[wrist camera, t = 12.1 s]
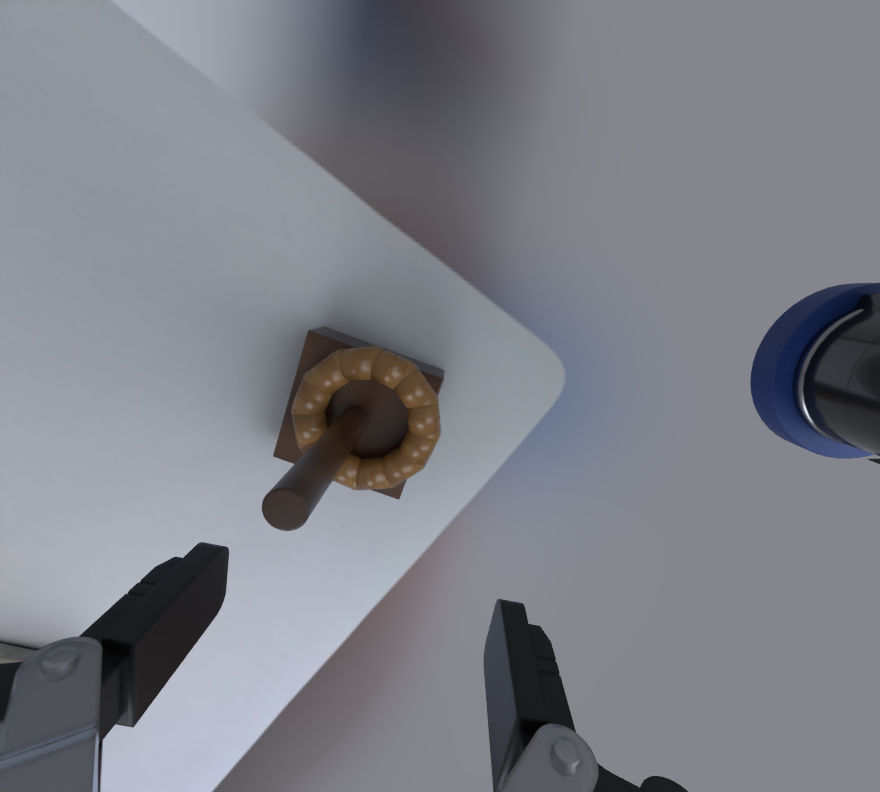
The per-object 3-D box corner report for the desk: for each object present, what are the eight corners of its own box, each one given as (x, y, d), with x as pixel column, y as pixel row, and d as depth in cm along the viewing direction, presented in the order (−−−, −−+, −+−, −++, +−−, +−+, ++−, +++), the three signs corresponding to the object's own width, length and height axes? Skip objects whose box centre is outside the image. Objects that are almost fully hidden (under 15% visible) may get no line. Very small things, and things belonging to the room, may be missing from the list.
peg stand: (322, 326, 29) (193, 358, 15) (444, 370, 30) (436, 444, 15) (289, 441, 31) (147, 570, 17) (404, 481, 32) (362, 639, 17)
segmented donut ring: (330, 320, 26) (320, 322, 24) (464, 383, 27) (464, 390, 25) (280, 447, 28) (267, 458, 26) (405, 502, 29) (401, 517, 27)
